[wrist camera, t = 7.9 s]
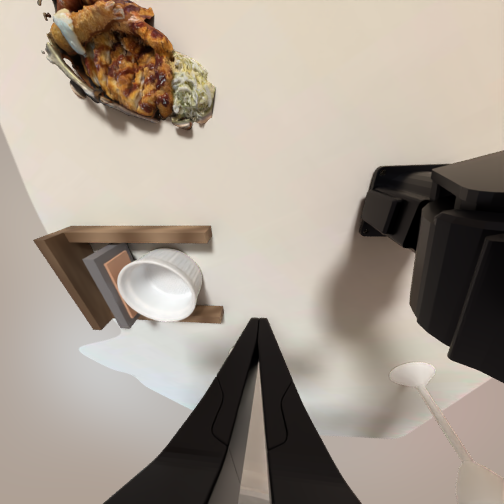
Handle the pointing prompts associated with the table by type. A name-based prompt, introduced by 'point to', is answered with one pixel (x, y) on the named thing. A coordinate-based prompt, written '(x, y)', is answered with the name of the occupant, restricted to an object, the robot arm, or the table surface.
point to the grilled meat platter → (127, 62)
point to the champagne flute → (453, 442)
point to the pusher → (112, 279)
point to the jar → (255, 456)
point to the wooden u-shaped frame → (78, 238)
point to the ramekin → (161, 285)
